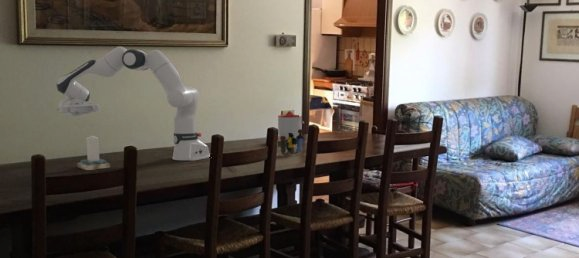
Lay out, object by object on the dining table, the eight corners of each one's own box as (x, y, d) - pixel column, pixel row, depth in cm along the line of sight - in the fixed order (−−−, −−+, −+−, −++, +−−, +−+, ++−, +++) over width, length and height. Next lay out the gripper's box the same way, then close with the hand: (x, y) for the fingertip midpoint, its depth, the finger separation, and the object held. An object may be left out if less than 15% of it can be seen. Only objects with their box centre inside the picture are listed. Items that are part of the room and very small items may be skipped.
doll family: (292, 150, 357) (291, 127, 355) (306, 151, 354) (306, 128, 352) (277, 156, 335) (277, 132, 334) (293, 157, 332) (292, 133, 331)
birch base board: (100, 164, 313) (100, 157, 312) (110, 167, 304) (109, 160, 303) (77, 167, 305) (77, 160, 305) (86, 170, 296) (86, 163, 296)
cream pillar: (96, 162, 307) (94, 135, 306) (99, 163, 304) (98, 136, 302) (87, 163, 304) (86, 136, 303) (91, 164, 301) (89, 136, 299)
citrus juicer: (307, 142, 387) (307, 111, 384) (281, 144, 382) (281, 112, 380) (300, 139, 402) (300, 109, 399) (275, 140, 397) (274, 110, 395)
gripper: (55, 102, 319) (64, 104, 308) (92, 101, 332) (103, 102, 321) (55, 114, 320) (65, 116, 309) (93, 112, 333) (103, 114, 322)
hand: (84, 109), depth 315 cm, fingers open, 8 cm apart
